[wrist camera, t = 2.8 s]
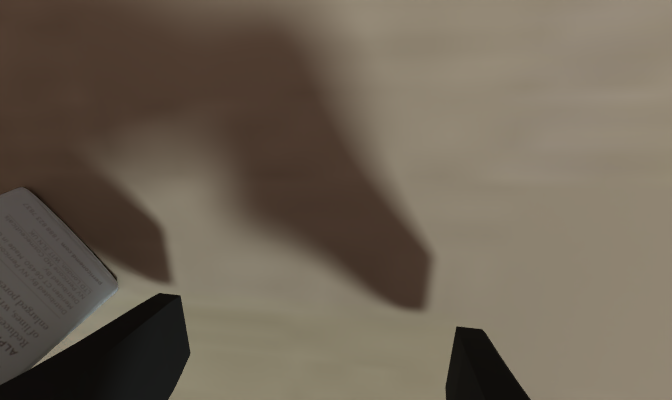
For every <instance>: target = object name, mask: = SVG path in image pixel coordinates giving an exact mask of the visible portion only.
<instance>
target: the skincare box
mask: <svg viewBox="0 0 672 400" xmlns="http://www.w3.org/2000/svg"><path fill="white" fill-rule="evenodd" d="M117 290H118V282H117V281H116V280H115V278H114V277H113V276H112V274H111V273H110V272H109V271H108V270H107V269H106V268H105V267H104V266H103V264H102V263H101V262H100V261H99V260H98V258H97V257H96V256H95V255H94V254H93V253H92V252H91V251H90V250H89V249H88V248H87V247H86V245H85V244H84V243H83V242H82V241H81V240H80V239H79V238H78V237H77V236H76V235H75V234H74V233H73V232H72V231H71V230H70V229H69V228H68V227H67V225H66V224H64V223H63V221H62V220H60V218H58V217H57V216H56V215H55V214H54V213H53V212H52V211H51V210H50V209H49V208H48V207H47V206H46V205H45V204H44V203H43V202H42V201H41V200H40V199H38V198H37V197H36V196H35V195H34V194H33V193H32V192H30V191H29V190H28V189H26V188H24V187H19V188H16V189H14V190H11V191H8V192H6V193H3V194H1V195H0V385H1V384H3V383H5V382H7V381H9V380H11V379H13V378H15V377H16V376H18V375H20V374H22V373H24V372H26V371H28V370H29V369H31V368H32V367H33V366H34V365H35V364H36V363H37V362H38V361H40V360H41V359H42V358H43V357H44V356H45V355H46V354H47V353H48V352H50V351H51V350H52V349H53V348H54V347H55V346H56V345H57V344H59V343H60V342H61V341H62V340H63V339H64V338H65V337H66V336H67V335H68V334H70V333H71V332H72V331H73V330H74V329H75V328H76V327H77V326H79V325H80V324H81V323H82V322H83V321H84V320H85V319H86V318H88V317H89V316H90V315H91V314H92V313H93V312H94V311H95V310H96V309H97V308H99V307H100V306H101V305H102V304H103V303H104V302H105V301H106V300H108V299H109V298H110V297H111V296H112V295H113V294H114V293H116V292H117Z"/></svg>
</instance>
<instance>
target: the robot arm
mask: <svg viewBox="0 0 672 400" xmlns="http://www.w3.org/2000/svg"><path fill="white" fill-rule="evenodd" d="M189 356H190V348H189V342H188V336H187V331H186V325H185V319H184V313H183V307H182V302H181V296H180V295H171V294H162V293H159V294H157V295H155V296H153V297H151V298H150V299H148V300H146V301H144V302H143V303H141V304H139V305H138V306H136V307H135V308H133V309H131V310H130V311H128V312H126V313H125V314H123V315H122V316H120V317H118V318H117V319H115V320H113V321H112V322H110V323H109V324H107V325H105V326H104V327H102V328H100V329H99V330H97V331H95V332H94V333H92V334H90V335H89V336H87V337H86V338H84V339H82V340H81V341H79V342H77V343H76V344H74V345H72V346H70V347H69V348H67V349H65V350H63V351H61V352H60V353H58V354H56V355H54V356H53V357H51V358H49V359H47V360H46V361H44V362H42V363H40V364H39V365H37V366H35V367H33V368H31V369H30V370H28V371H26V372H24V373H22V374H20V375H18V376H16V377H15V378H13V379H11V380H9V381H7V382H5V383H3V384H1V385H0V400H168V399H169V397H170V395H171V394H172V392H173V390H174V388H175V386H176V384H177V382H178V380H179V378H180V376H181V374H182V371H183V369H184V367H185V365H186V362H187V360H188V358H189ZM446 400H531V399H530V398H529V397H528V395H527V394H526V393H525V391H524V390H523V389H522V387H521V386H520V384H519V383H518V381H517V380H516V379H515V377H514V376H513V374H512V373H511V371H510V370H509V368H508V367H507V365H506V364H505V362H504V361H503V359H502V358H501V356H500V355H499V353H498V352H497V350H496V349H495V347H494V346H493V344H492V342H491V341H490V339H489V338H488V336H487V335H486V333H485V332H484V331H483V330H482V329H474V328H465V327H456V332H455V337H454V343H453V348H452V354H451V359H450V365H449V370H448V376H447V381H446Z"/></svg>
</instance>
